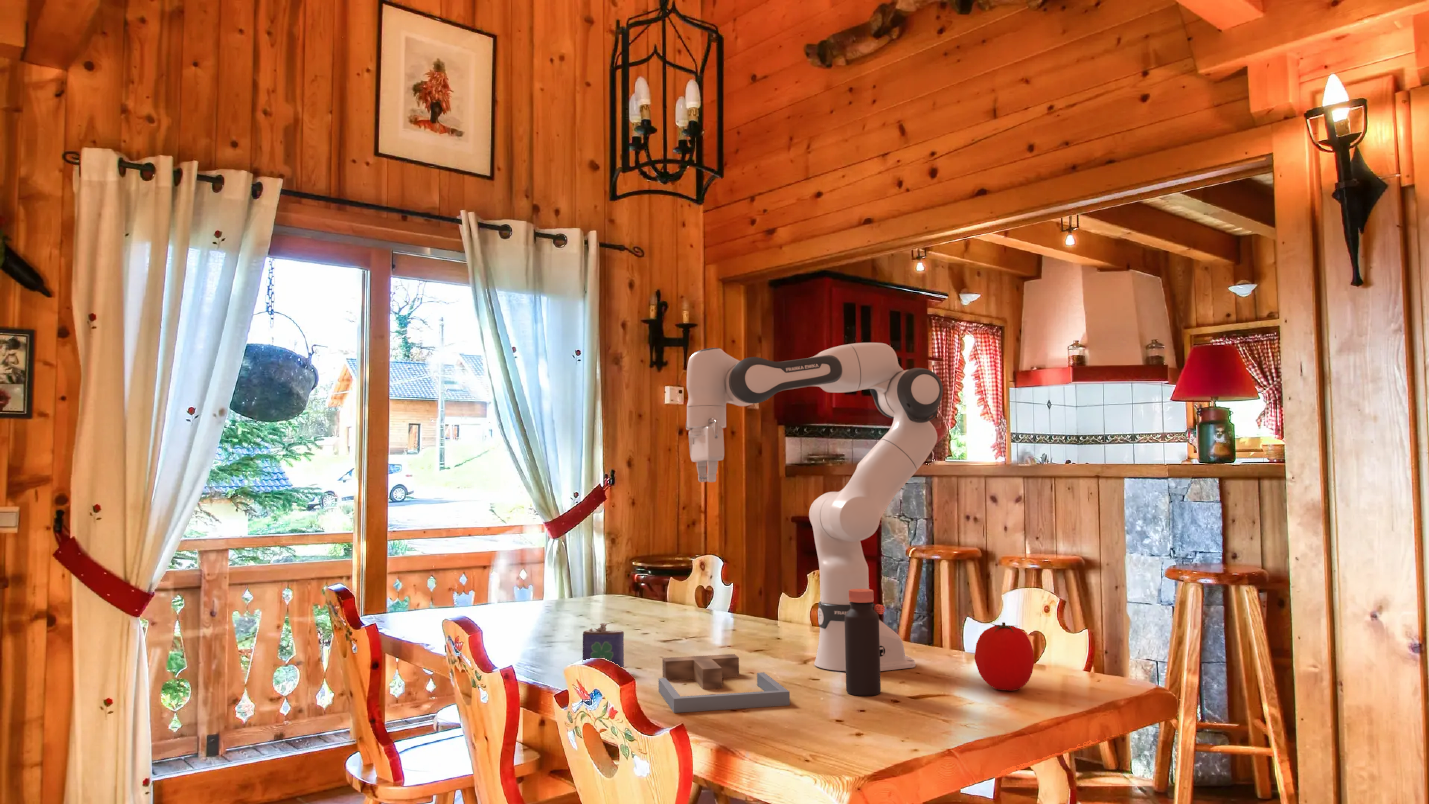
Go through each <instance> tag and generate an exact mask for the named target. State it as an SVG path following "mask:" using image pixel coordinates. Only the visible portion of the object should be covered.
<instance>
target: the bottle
mask: <svg viewBox="0 0 1429 804" xmlns="http://www.w3.org/2000/svg"><path fill="white" fill-rule="evenodd" d="M874 593H875V592H874V590H873V589H870V588H869V589H851V590H849V601H850V602H849V604H851V609H850V610H849V611H848V612H847V613H846V615H845V661H846V671H845V692H847V694H849V695H852V696H856V697H857V696H858V697H873V696H878V695H879V694H881V691H882V690H881V689H882V687H881V686H882V685H881V682H882V681H881V680H882V679H881V671H880V640H879V620H880V616H879V613H876V612H875V611H874V610H873V609H872V604H875V603H874Z"/></svg>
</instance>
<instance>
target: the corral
mask: <svg viewBox="0 0 1429 804" xmlns="http://www.w3.org/2000/svg"><path fill="white" fill-rule="evenodd" d="M669 681H670V680H667V679H666V678H663V677H660V678H658V692H659V694H660V695H661V697H662V698H663V700H664V701H665V702H666V704H667V705H668V706H669V708H670V709H671V710H672V713H675V714H676V713H691V712H692V713H693V712H703V711H704V712H707V711H708V712H709V711H710V712H711V711H721V710H736V709H737V710H739V709H753V708H768V707H781V706H782V707H783V706H790V703H791V702H790V701H791V700H790V699H791V698H790V690H788V689H787V688H785V687H784V686H783V685H782V684H780V682H778V681H776V680H774V679H773V678H772V677H771V676H770V675H768V674H767V673H766V672H764V671H763V672H757V673H756V685H757V686H758V687H759V688H760V689H761V690H762V691H750V692H749V691H746V692H732V693H730V692H729V693H715V694H713V693H712V694H701V695H700V694H699V695H697V694H695V695H684V696H681V695H680V694H679V693H678V691H677V690H676V689H675V688H674V686H673V685H672V684H671V682H669Z"/></svg>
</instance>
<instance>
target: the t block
mask: <svg viewBox="0 0 1429 804" xmlns="http://www.w3.org/2000/svg"><path fill="white" fill-rule="evenodd" d="M739 658H740V657H739V656H738V655H737V654H735V653H730V654H727V653H726V654H712V655H711V654H710V655H696V656H694V655H693V656H675V657H662V678H666V679H667V680H668V681H680V680H682V681H683V680H693V681H695V682H696V683H697V685H698V686H699V687H701V689H702V690H714V689H723V678H732V677H733V678H734V677H736V678H737V677H740V659H739Z"/></svg>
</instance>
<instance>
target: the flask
mask: <svg viewBox="0 0 1429 804" xmlns="http://www.w3.org/2000/svg"><path fill="white" fill-rule="evenodd" d="M599 625H600V626H599V627H598V628H592V627H591V628H590V629H588V630H583V633H582V661H583V660H586V659H590V658H605V659H607V660H609V661H612V662H614V663H615V664H618V665H619V666H620V667H623V668H624V669H625V662H624V661H625V659H624V657H625V656H624V655H625V654H624V653H625V651H624V646H625V645H624V640H625V639H624V637H625V636H624V635H625V633H624V631H623V630H607V625H608V624H607V623H605V622H604V623H602V622H601V623H599Z"/></svg>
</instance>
